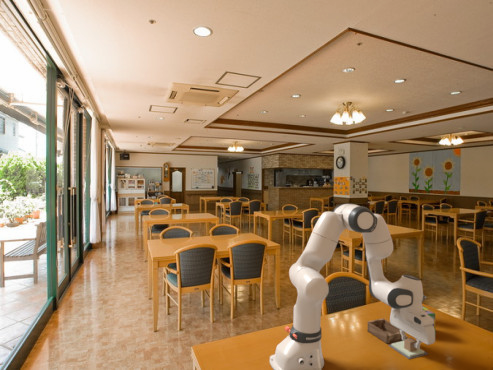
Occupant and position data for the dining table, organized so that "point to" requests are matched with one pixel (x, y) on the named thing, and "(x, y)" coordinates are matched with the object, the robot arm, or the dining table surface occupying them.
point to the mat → (406, 355)
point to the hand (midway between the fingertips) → (410, 343)
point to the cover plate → (401, 347)
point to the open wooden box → (384, 331)
